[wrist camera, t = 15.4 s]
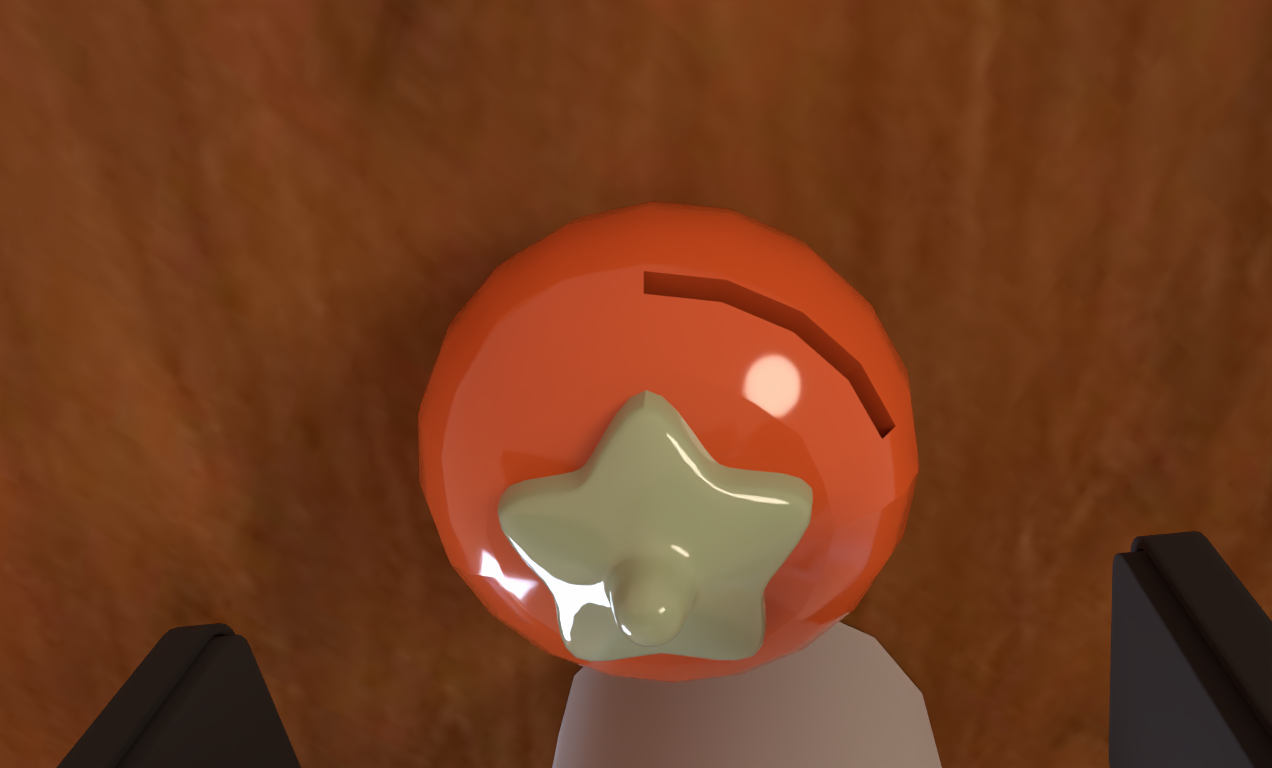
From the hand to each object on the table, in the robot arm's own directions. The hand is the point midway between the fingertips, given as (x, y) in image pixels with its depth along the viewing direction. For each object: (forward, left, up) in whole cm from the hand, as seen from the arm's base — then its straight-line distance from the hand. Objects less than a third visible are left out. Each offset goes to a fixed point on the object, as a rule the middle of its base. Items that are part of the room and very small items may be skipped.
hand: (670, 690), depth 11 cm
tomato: (0, 0, -9) cm, 9 cm away
